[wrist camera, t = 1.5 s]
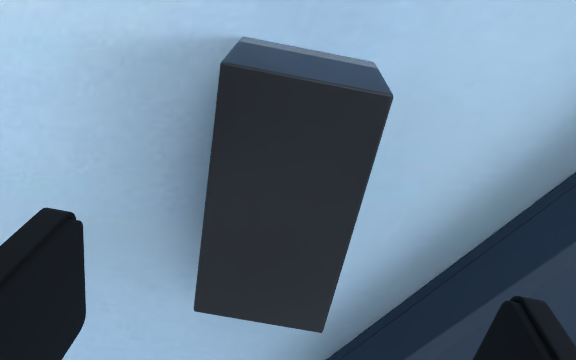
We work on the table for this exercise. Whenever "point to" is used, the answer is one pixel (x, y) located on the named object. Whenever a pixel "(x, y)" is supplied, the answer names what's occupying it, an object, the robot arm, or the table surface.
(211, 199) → the eraser
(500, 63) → the table surface
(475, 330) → the tray
